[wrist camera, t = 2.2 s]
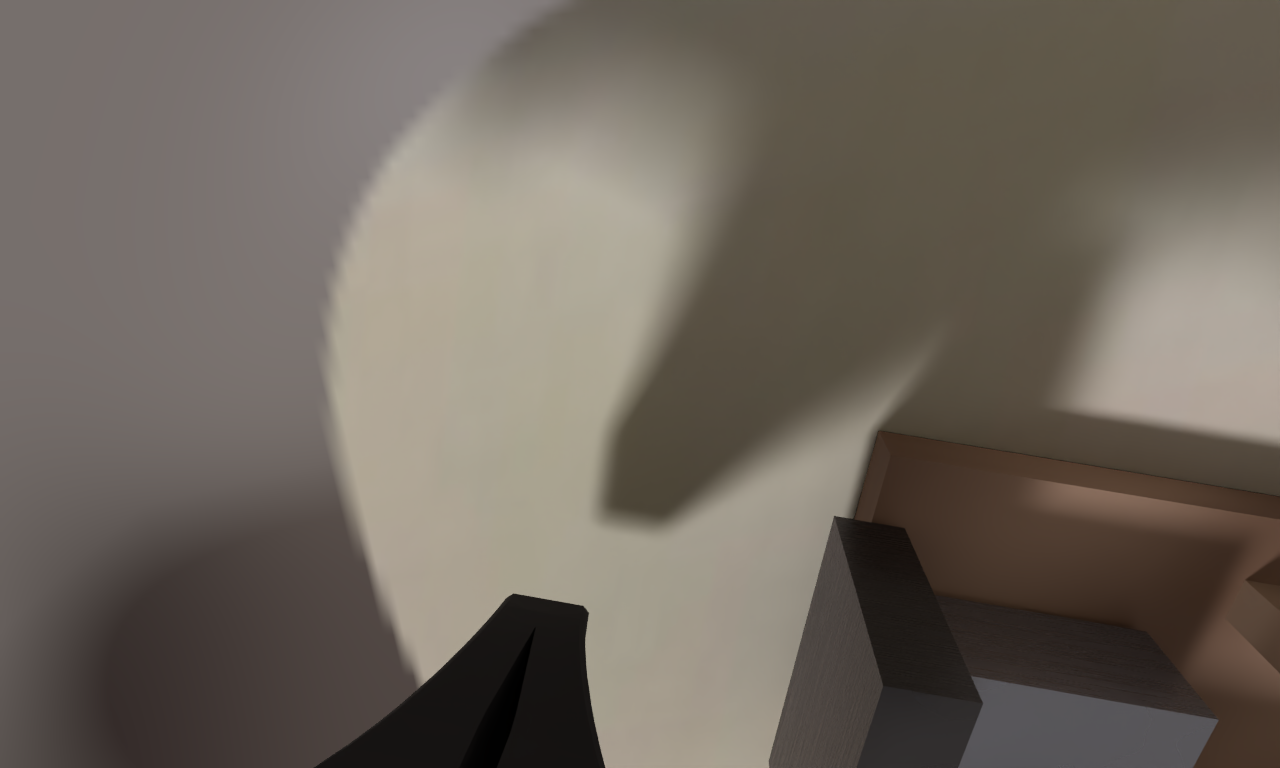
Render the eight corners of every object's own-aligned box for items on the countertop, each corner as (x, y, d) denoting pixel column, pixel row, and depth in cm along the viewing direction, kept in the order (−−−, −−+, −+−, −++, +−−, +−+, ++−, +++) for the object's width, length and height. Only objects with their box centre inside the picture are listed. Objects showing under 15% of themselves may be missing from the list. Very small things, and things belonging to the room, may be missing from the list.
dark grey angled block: (1173, 573, 13) (1366, 771, 9) (1060, 814, 15) (1179, 1059, 11) (834, 516, 13) (883, 685, 9) (769, 760, 15) (786, 982, 11)
